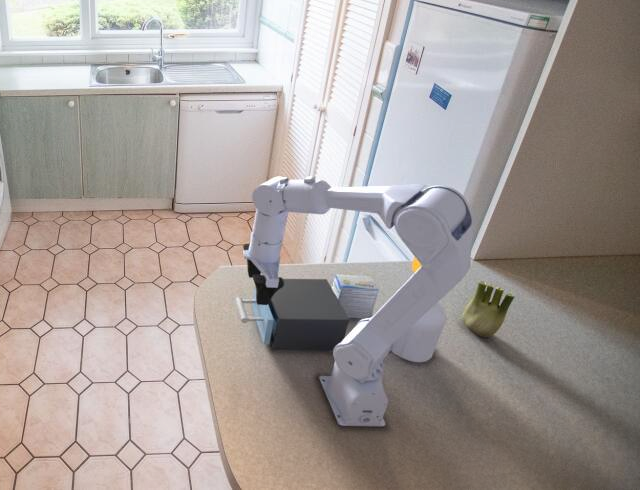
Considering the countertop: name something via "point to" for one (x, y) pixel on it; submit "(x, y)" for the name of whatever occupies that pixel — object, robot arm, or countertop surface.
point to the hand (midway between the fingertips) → (257, 289)
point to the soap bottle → (421, 333)
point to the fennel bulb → (486, 310)
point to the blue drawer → (259, 317)
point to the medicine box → (356, 295)
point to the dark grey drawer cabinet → (308, 316)
